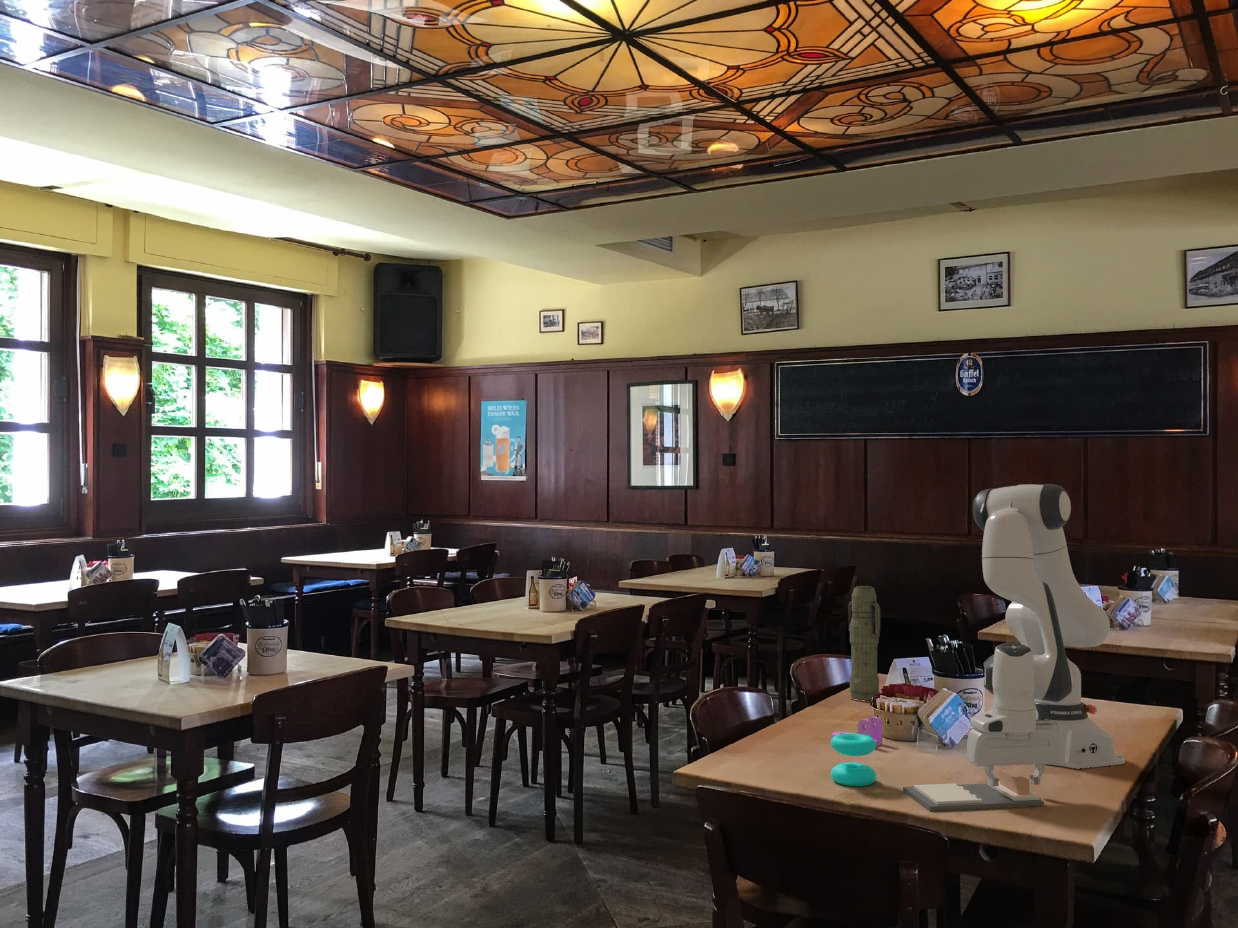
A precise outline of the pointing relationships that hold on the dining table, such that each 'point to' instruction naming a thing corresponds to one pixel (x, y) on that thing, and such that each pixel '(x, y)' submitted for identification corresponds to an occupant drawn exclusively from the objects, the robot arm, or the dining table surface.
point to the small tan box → (1015, 786)
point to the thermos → (864, 642)
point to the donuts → (853, 771)
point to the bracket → (868, 729)
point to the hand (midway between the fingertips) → (1014, 784)
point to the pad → (963, 797)
